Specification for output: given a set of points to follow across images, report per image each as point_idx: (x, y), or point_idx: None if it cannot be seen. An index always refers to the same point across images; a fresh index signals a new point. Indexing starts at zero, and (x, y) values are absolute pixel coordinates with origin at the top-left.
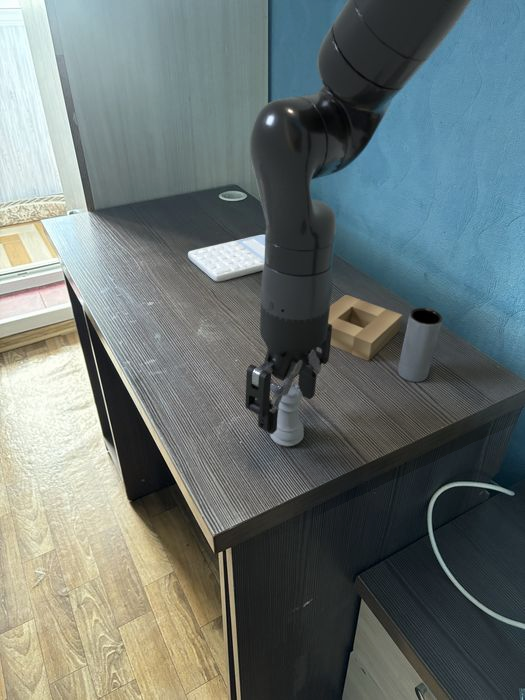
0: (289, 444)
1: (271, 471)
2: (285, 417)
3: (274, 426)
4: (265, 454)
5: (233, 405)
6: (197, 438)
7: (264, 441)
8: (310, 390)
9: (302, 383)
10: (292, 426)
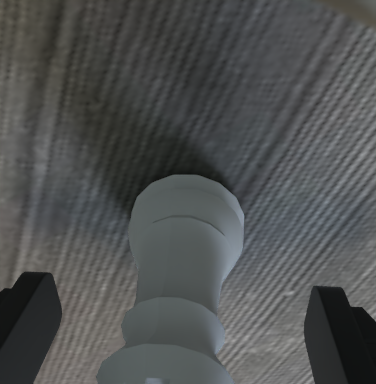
0: (227, 194)
1: (353, 175)
2: (216, 291)
3: (350, 318)
4: (295, 224)
5: None
6: None
7: (249, 251)
8: (29, 312)
9: (31, 359)
10: (204, 239)
